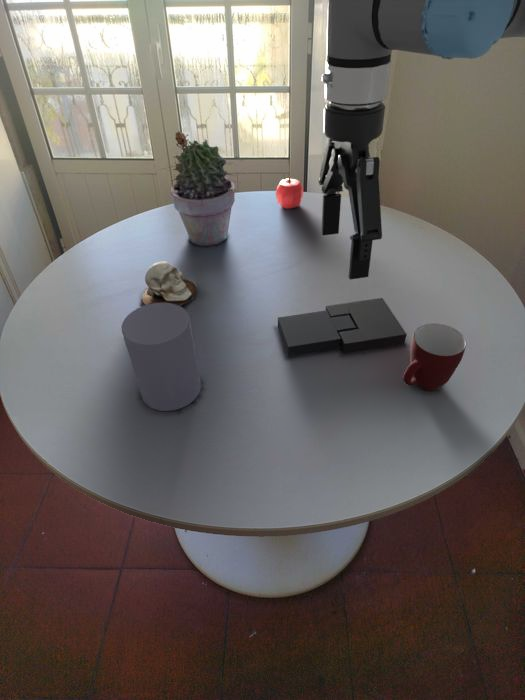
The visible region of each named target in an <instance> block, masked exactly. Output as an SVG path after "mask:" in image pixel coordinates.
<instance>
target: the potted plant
mask: <svg viewBox="0 0 525 700" xmlns="http://www.w3.org/2000/svg"><path fill="white" fill-rule="evenodd" d="M188 136H189V134H188V133H187V134H186V135H185V133H184V132H182V131H180V130H179V131H177V132H175V140H176V142H177V143H176V146H177V147H178V148H180V150H182V151H183V152H181V153H180V155H177V154H176V156H174V157H173V158H174V160H176V159H177V161H178V162H176V161H174V165H172V166H171V168H173V167H175V168H174V169H173V171H177V172H178V175H176V176H175V177H174V178H173V180H171V182H175V183H174V184H173V185H172V186H171V188H170V196H171V199H172V204H173V206H174V209H175V210H176V211H177V212H178V214H179V216H180V218H181V221H182V223H183V226H184V228H185V230H186V233H187V235H188V238H189V240H190V241H191V243H193V244H194V245H198V246H204V247H205V246H212V245H218V244H220V243H223V242H224V241H225V240H226V239H227V238H228V234H229V228H230V227H229V226H230V220H231V214H232V208H233V205H234V203H235V201H236V200H235V197H236V196H237V195H238V193H237V192H238V191H237V190H236V189H235V182H234V181H233V180H231V178H228V177H226V176H227V175H228V176H233V177H235V175H234V174H231V173H229V172H228V170H226V169H224V166H225V165H227V164H229V166H230V165H233V162H231V161H230V160H228V161H227V160H226V159H225V158H224V157H222V156H221V155H220V153H219V146H217V145H216V146H211V145H210V144H209V142H208V140H207V139H206V138H205V139H204V141H202V142H199V141H198V140H195V139H194V140H193V141H191V140H189V138H188V139H187V137H188ZM201 143H202V144H201ZM234 165H236V166H237V164H234ZM168 168H170V167H169V166H168V167H167V169H168ZM165 169H166V167H164V168H163V170H165ZM160 170H162V168H160V169H159V171H160ZM237 183H238V184H240V181H239V182H237ZM235 192H236V193H237V194H235ZM235 195H236V196H235Z"/></svg>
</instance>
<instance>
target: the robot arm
mask: <svg viewBox="0 0 525 700" xmlns="http://www.w3.org/2000/svg"><path fill="white" fill-rule="evenodd" d="M507 38H525V0H327V25H326V56H325V73H323V74H322V75H321V82H322V84H324V99H325V100H326V101H327V102H326V103H325V105H324V106H323V125H322V126H323V127H322V132H323V135H324V136H325V137H326V140H325V141H326V142H325V143H326V144H325V148H324V153H323V158H322V162H321V167H320V172H319V177H318V184H319V186H321V193H322V194H323V195H322V206H321V207H322V210H321V214H322V215H321V235H322V236H332V235H338V234H339V233H340V218H341V204H342V203H341V202H342V194H341V192H344V189H346V191H348V198H349V203H350V210H351V216H352V223H353V230H354V234H352V235H350V236H349V239H350V241H351V242H350V253H349V264H348V265H349V267H348V276H347V277H348V279H349V280H351V281H352V280H357V279H365V278H368V277H369V274H370V265H371V257H372V249H373V241H377V240H381V239H382V238H383V228H382V211H381V192H380V179H379V177H380V167H381V166H380V164H381V160H380V157H379V156H372V157H371V155H370V146H369V145H370V143H371V142H372V141H373V140H377V139H378V138H379V137H380V136H381V135H382V133H383V129H384V122H385V114H386V113H385V112H386V105H385V103H384V102H383V101H384V100H386V99H387V96H388V91H389V81H390V73H391V64H392V59H391V58H392V53H393V51H400V52H401V51H402V52H408V53H415V54H422V55H428V56H435V57H438V58H439V57H441V59H443V60H453V59H471V60H472V59H477V58H481V57H483V56H484V55H486V54H488V53H489V51H490V50H491V49H492V47H493V45H496V44H497V43H498V42H499V40H501V39H507ZM343 187H344V188H343Z"/></svg>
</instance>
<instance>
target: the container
mask: <svg viewBox="0 0 525 700" xmlns="http://www.w3.org/2000/svg"><path fill="white" fill-rule="evenodd" d="M192 331H193V330H192V325H191V321H190V316H189V314H188V312H187V310H186V309H185V308H184V307H182V306H181V305H180V306H178V305H175V304H171V303H153V304H148V305H145V304H144V305H142V306H140V307H138V308H136V309H135V310H132V311H131V312H130V313H129V314H127V315H126V317H125V318H123V321H122V322H121V334H122V336H123V340H124V344H125V346H126V350H127V354H128V356H129V360H130V363H131V365H132V369H133V373H134V375H135V379H136V382H137V386H138V388H139V392H140V395H141V398H142V400H143V402H144V403H145V405H147V406H148V407H149V408H151V409H154V410H156V411H162V412H170V411H171V412H172V411H176V410H179V409H182V408H184V407H186V406H188V405H190V404H191V403H193V402H194V401H195V400H196V399H197V398H198V396H199V394H200V391H201V389H202V382H201V376H200V370H199V366H198V360H197V354H196V349H195V343H194V337H193V332H192Z"/></svg>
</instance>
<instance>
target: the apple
mask: <svg viewBox="0 0 525 700" xmlns="http://www.w3.org/2000/svg"><path fill="white" fill-rule="evenodd" d="M304 192H305V191H304V186H303V184H302V182H301V181H299V180H298V179H296V178H291V177H288V178H285V179H281V180H280V182H279V184H278V185H277V187H276V190H275V197H276V201H277V204H278V205H280V206H281V207H283V208H284V209H295V208H298V207H299V206H301V203H302V201H303V196H304Z"/></svg>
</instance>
